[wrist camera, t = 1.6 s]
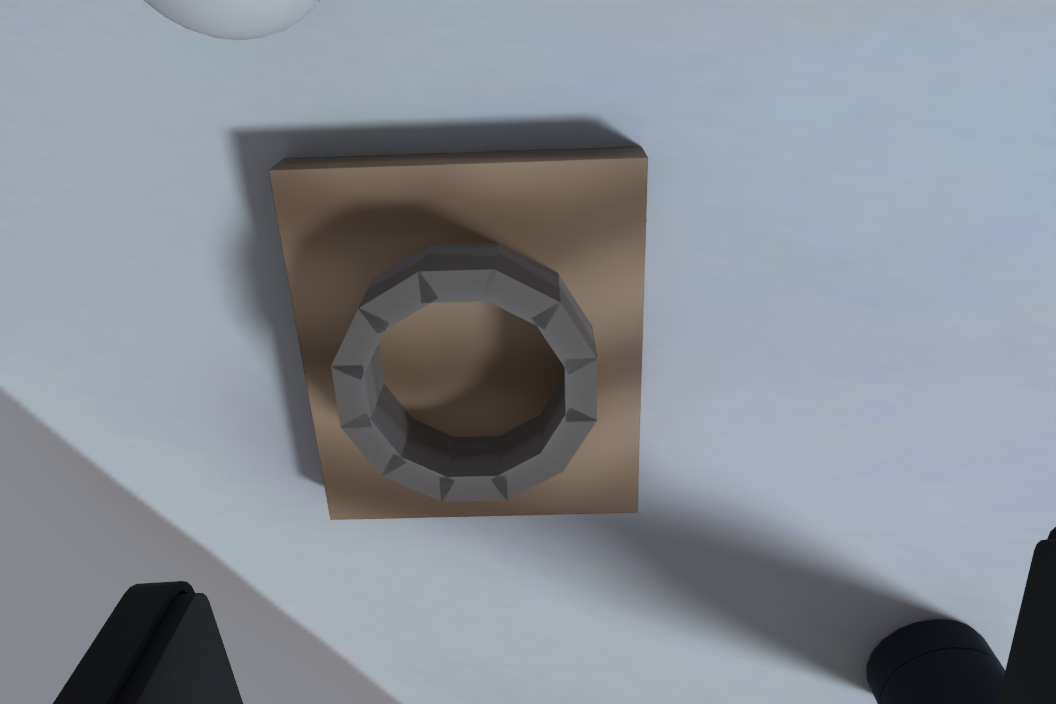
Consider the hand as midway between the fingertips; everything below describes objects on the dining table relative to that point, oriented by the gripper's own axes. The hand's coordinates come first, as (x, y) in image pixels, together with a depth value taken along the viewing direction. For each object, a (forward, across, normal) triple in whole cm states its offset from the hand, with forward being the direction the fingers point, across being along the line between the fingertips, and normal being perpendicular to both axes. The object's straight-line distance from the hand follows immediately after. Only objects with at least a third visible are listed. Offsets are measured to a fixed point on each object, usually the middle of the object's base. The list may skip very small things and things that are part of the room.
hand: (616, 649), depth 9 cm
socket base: (+25, +4, +7) cm, 26 cm away
